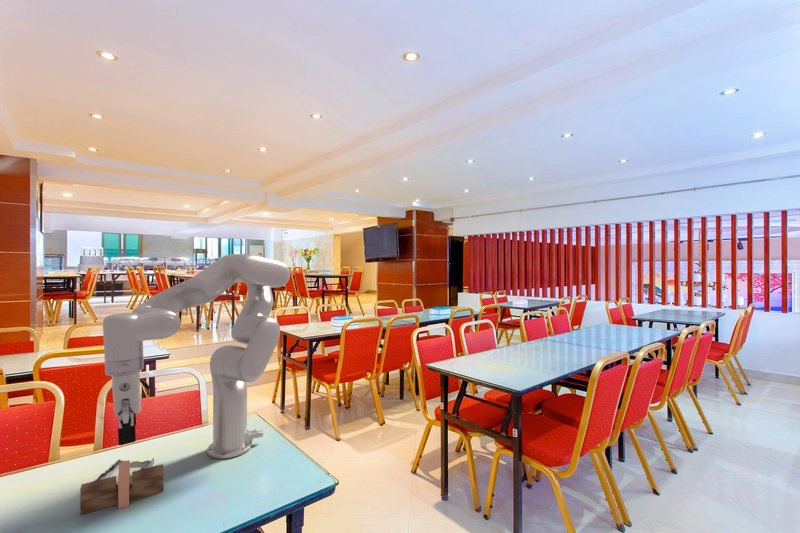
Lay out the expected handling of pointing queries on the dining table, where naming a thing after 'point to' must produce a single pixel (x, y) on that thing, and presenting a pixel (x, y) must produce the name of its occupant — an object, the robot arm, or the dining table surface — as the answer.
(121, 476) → the terracotta board
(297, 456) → the dining table surface
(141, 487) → the walnut base board
